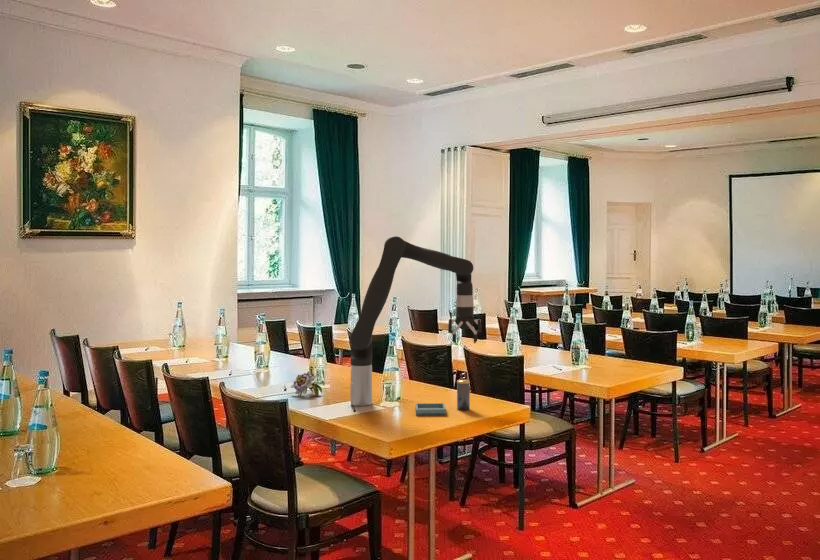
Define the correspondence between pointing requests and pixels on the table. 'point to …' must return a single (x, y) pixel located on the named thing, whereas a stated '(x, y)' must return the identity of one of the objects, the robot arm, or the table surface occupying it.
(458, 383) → the block
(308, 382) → the passion flower
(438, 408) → the tray
